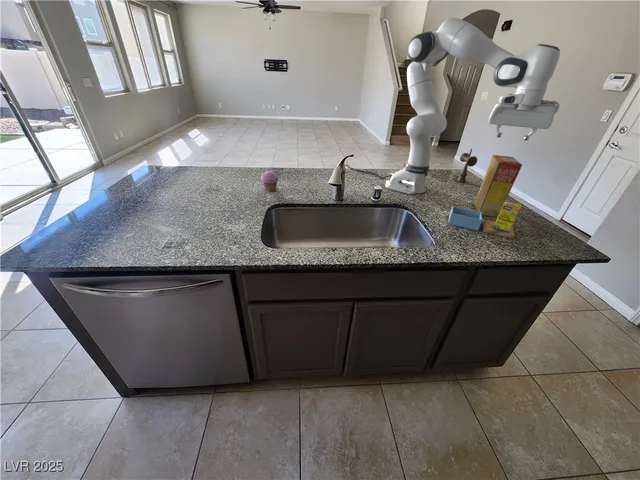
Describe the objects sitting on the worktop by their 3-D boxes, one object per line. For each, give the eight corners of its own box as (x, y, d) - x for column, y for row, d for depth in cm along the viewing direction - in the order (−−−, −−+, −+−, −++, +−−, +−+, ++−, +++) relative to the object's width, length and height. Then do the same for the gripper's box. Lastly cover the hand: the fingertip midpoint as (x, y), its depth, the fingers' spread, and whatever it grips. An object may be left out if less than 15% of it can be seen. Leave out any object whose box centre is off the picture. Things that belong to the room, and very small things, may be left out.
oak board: (483, 231, 112) (484, 228, 112) (482, 222, 120) (483, 219, 119) (513, 238, 109) (515, 235, 108) (510, 228, 116) (512, 225, 115)
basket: (448, 223, 118) (451, 213, 115) (449, 215, 124) (452, 205, 122) (478, 230, 113) (482, 220, 111) (477, 221, 120) (481, 211, 118)
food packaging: (499, 217, 124) (523, 164, 111) (477, 214, 127) (498, 161, 113) (493, 206, 135) (514, 156, 122) (473, 203, 137) (491, 154, 124)
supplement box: (492, 228, 112) (503, 204, 106) (495, 223, 116) (505, 200, 110) (508, 233, 109) (520, 209, 103) (510, 227, 113) (522, 204, 107)
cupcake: (273, 194, 138) (272, 175, 133) (259, 191, 141) (257, 173, 136) (281, 188, 146) (280, 170, 140) (267, 186, 148) (266, 168, 143)
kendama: (460, 184, 162) (471, 150, 151) (452, 178, 170) (462, 146, 159) (469, 184, 162) (481, 150, 151) (461, 178, 170) (472, 146, 159)
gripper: (559, 100, 96) (541, 140, 103) (495, 96, 103) (482, 134, 111) (564, 101, 91) (545, 143, 99) (496, 97, 98) (483, 137, 106)
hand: (511, 138), depth 105 cm, fingers open, 8 cm apart
